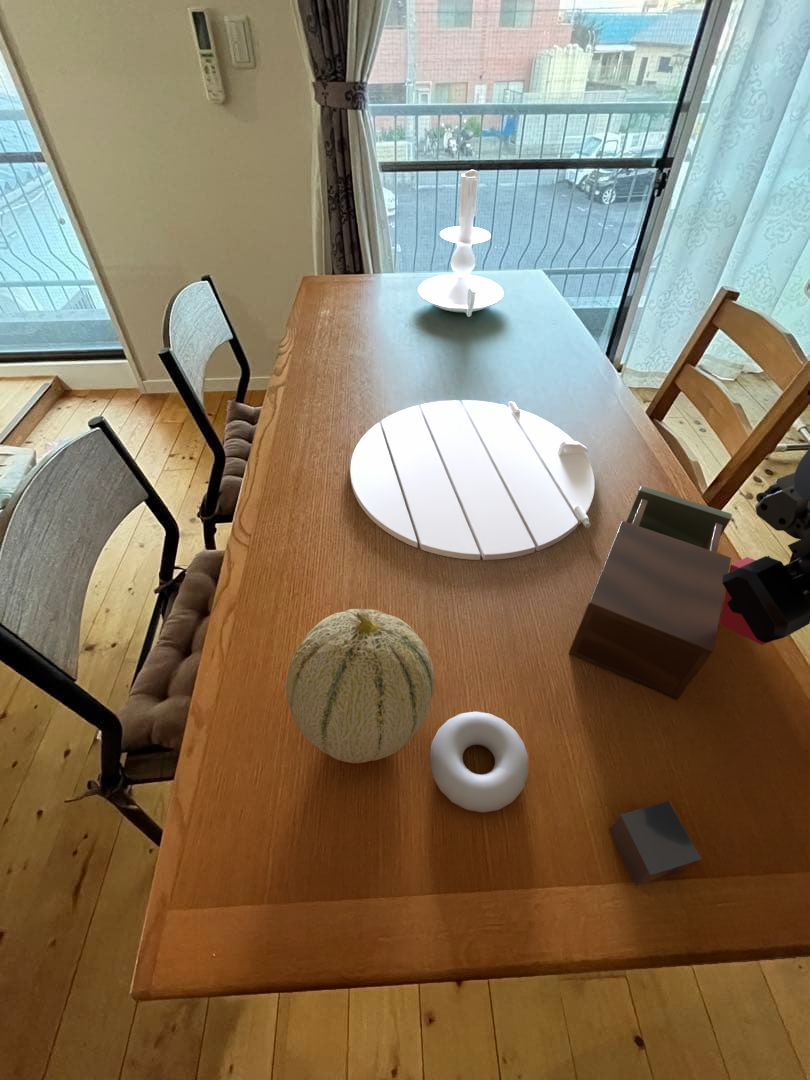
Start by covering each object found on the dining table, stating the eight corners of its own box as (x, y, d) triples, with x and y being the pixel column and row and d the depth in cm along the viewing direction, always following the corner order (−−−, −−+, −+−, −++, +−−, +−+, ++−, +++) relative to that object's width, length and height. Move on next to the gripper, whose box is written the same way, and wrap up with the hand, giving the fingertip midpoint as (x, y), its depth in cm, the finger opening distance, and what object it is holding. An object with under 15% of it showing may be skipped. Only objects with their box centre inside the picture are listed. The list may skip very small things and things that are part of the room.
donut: (443, 709, 62) (416, 797, 55) (445, 693, 59) (417, 783, 52) (532, 737, 60) (516, 832, 53) (538, 722, 57) (522, 819, 50)
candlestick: (425, 332, 125) (431, 190, 105) (413, 288, 142) (415, 158, 122) (515, 329, 126) (537, 188, 106) (492, 285, 143) (507, 157, 123)
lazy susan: (542, 395, 107) (545, 378, 104) (644, 537, 80) (652, 520, 78) (336, 417, 101) (334, 401, 98) (373, 579, 74) (372, 562, 72)
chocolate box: (779, 636, 54) (794, 574, 51) (762, 646, 53) (777, 582, 50) (735, 616, 58) (747, 556, 55) (719, 624, 57) (730, 564, 54)
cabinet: (600, 573, 76) (622, 520, 68) (697, 609, 71) (731, 557, 64) (568, 653, 67) (589, 602, 59) (676, 700, 62) (713, 651, 55)
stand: (654, 815, 54) (669, 800, 51) (684, 871, 51) (702, 859, 48) (608, 828, 53) (620, 814, 50) (635, 886, 50) (650, 875, 47)
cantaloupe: (304, 800, 55) (281, 733, 44) (290, 672, 65) (269, 591, 54) (448, 765, 57) (460, 694, 46) (413, 647, 67) (416, 565, 56)
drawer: (629, 511, 83) (647, 468, 77) (710, 538, 79) (735, 494, 73) (598, 592, 72) (616, 549, 66) (689, 628, 68) (717, 585, 62)
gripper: (901, 430, 48) (752, 510, 62) (768, 477, 40) (632, 557, 54) (989, 543, 45) (812, 601, 58) (862, 616, 37) (693, 664, 51)
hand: (739, 602), depth 56 cm, fingers closed on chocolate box, 2 cm apart
